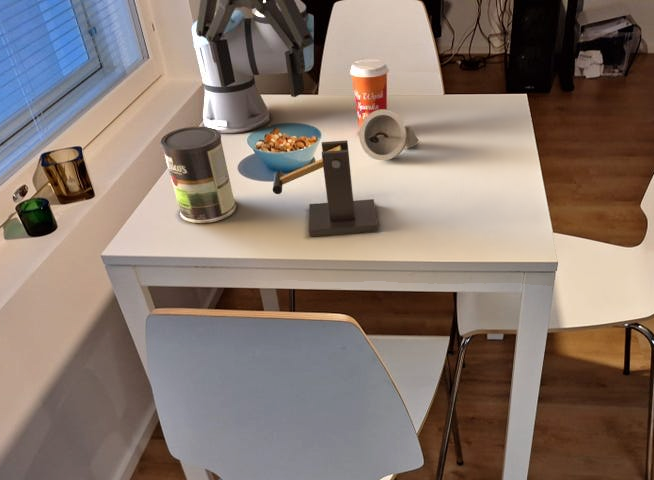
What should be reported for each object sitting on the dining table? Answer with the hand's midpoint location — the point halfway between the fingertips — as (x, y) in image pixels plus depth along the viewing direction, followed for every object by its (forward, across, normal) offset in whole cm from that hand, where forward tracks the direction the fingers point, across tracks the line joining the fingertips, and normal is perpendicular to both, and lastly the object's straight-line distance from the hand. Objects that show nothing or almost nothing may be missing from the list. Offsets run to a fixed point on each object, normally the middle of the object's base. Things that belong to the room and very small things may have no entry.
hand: (262, 89), depth 107 cm
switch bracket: (+23, +10, +4) cm, 26 cm away
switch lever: (+14, +6, +1) cm, 16 cm away
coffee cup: (+23, -4, +42) cm, 48 cm away
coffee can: (+23, -15, -3) cm, 28 cm away
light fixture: (+23, +4, +32) cm, 40 cm away
